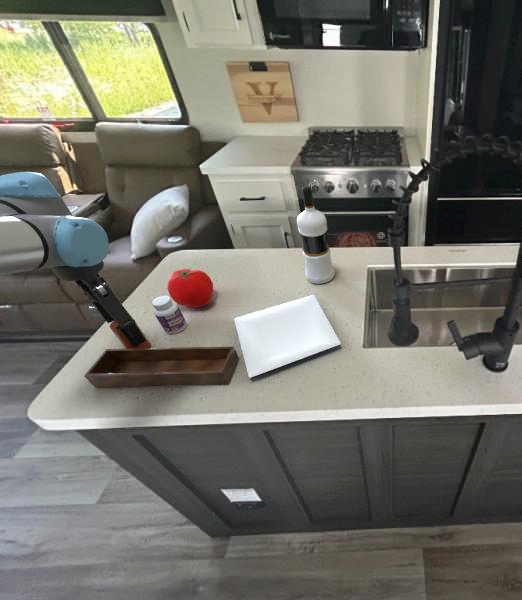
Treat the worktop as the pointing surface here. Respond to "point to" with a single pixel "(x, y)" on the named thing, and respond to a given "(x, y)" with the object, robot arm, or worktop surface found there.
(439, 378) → the worktop surface
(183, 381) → the wooden tray
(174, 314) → the pill bottle
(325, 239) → the vodka
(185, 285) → the tomato
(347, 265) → the worktop surface
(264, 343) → the plate
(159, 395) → the worktop surface
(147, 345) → the spice tin
